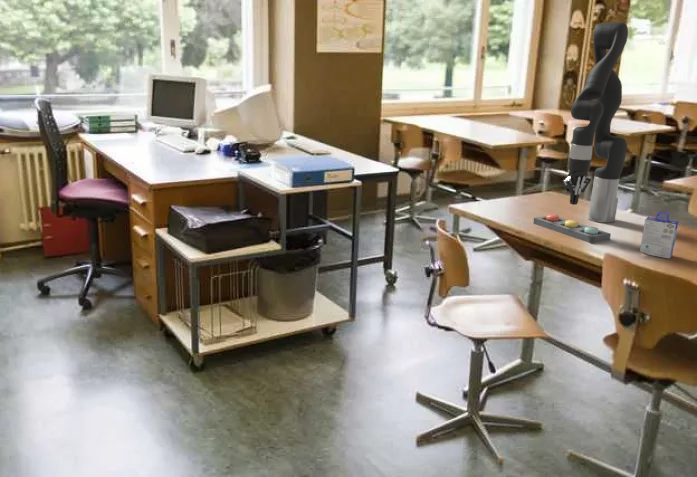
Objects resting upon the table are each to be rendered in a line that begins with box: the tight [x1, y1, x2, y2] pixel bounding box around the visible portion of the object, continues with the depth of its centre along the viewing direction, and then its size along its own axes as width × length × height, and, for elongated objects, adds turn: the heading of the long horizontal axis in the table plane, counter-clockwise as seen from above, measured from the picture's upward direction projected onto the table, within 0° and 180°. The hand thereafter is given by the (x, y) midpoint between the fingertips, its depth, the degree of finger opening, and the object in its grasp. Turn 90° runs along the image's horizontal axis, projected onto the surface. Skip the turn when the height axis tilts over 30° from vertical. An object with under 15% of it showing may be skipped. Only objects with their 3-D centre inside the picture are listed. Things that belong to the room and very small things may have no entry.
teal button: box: [584, 225, 599, 235], centre depth 244 cm, size 5×5×2 cm
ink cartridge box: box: [639, 211, 679, 259], centre depth 230 cm, size 10×6×14 cm, turn 58°
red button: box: [545, 213, 560, 222], centre depth 259 cm, size 5×5×2 cm
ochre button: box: [565, 219, 579, 229], centre depth 252 cm, size 5×5×2 cm
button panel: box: [533, 215, 612, 244], centre depth 252 cm, size 27×10×3 cm, turn 32°
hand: (573, 204), depth 249 cm, fingers closed
